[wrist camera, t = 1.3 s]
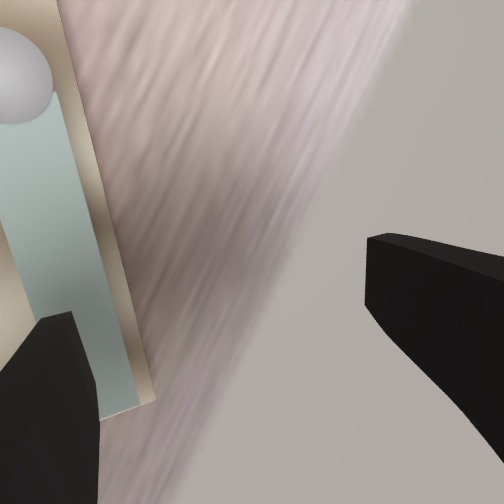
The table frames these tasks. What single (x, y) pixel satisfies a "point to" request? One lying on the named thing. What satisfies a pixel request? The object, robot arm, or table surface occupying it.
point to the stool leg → (54, 219)
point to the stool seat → (3, 265)
